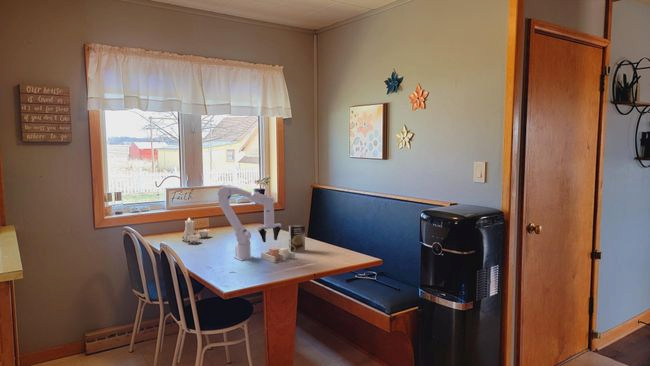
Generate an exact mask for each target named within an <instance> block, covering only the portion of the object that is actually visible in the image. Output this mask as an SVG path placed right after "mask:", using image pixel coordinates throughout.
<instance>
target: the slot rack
mask: <svg viewBox="0 0 650 366" xmlns="http://www.w3.org/2000/svg"><path fill="white" fill-rule="evenodd" d="M260 259H262V260H264V261H268V262H270V263H272V264H278V263H284V262H289V261H294V260H297V258H296V252H290V251H289V258H286V256H285V255H283V254H281V253H279V260H276V257H274V256H271V255H269V250H268V251H263V252H261V253H260Z"/></svg>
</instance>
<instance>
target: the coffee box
mask: <svg viewBox="0 0 650 366" xmlns="http://www.w3.org/2000/svg"><path fill="white" fill-rule="evenodd" d="M305 227H306V226H305V225H304V224H291V225H288V249H289V251H290V252H293V253H297V252H305V251H306V228H305Z"/></svg>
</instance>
